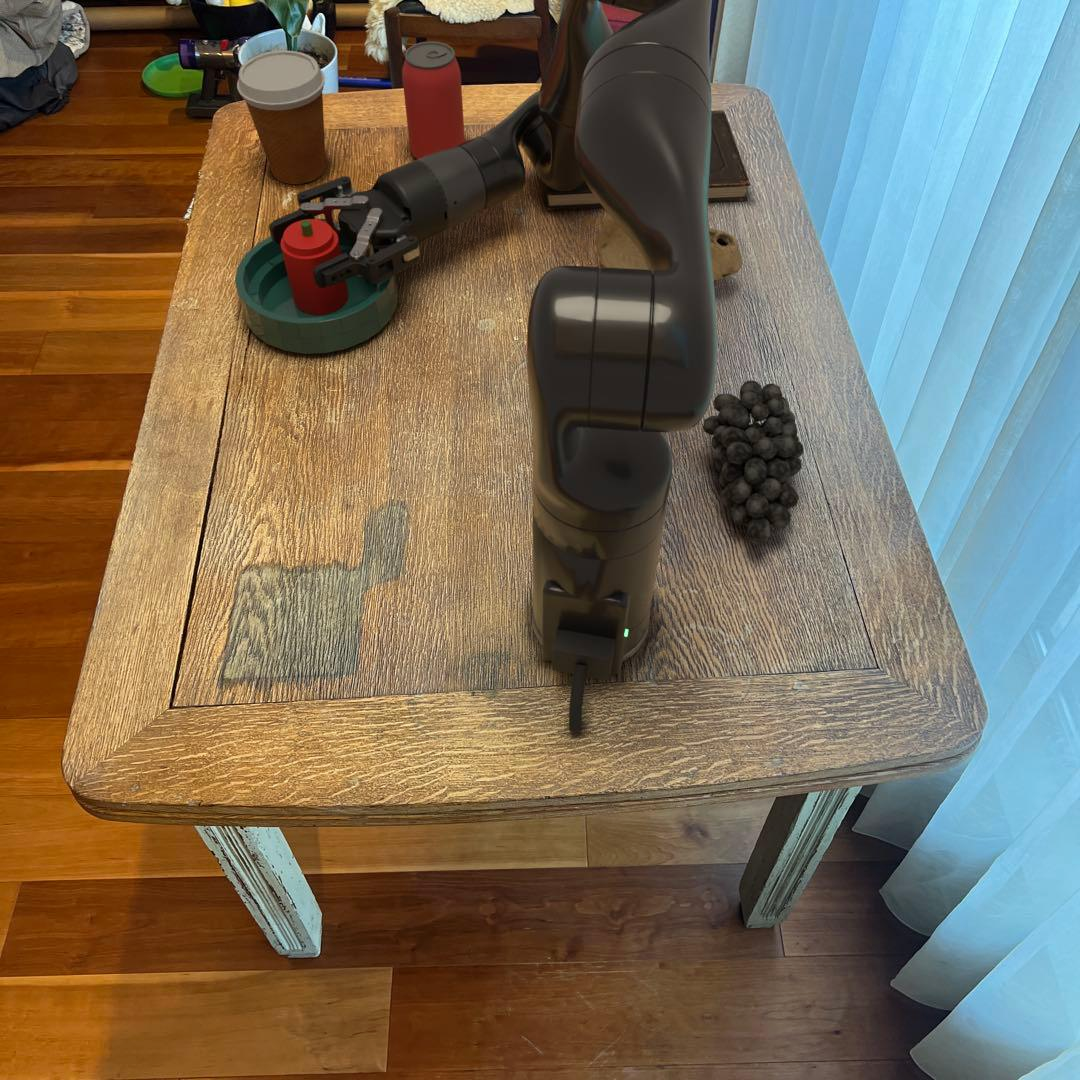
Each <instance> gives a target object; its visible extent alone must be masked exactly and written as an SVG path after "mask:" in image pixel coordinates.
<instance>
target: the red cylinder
mask: <svg viewBox="0 0 1080 1080" xmlns="http://www.w3.org/2000/svg"><path fill="white" fill-rule="evenodd" d="M316 219H317V218H315V219H306V220H301V221H298V222H295V223H293V224H291V225H290V226H289V227H287V229H286V230H285V231H284V234H283V237H282V239H281V249H282V253H283V257H284V262H285V266H286V270H287V274H288V278H289V283H290V287H291V291H292V295H293V299H294V303H295V305H296V307H297V308H298V309H299V310H301V311H302V312H304V313H307V314H311V315H325V314H330V313H333V312H335V311H337V310H339V309H340V308H342V307H343V306H344V305H345V304H346V302H347V300H348V296H349V294H348V288H347V283H346V280H344V281H341V282H340V283H337V284H335V285H333V286H329V287H325V288H319V287H318V286H317V285H316V284H315V280H314V276H313V268H314V267H315V266H317V265H319V264H321V263H324V262H326V261H328V260H330V259H332V258H335V257H337V256H339V255H341V250H340V245H339V239H338V235H337V233H336V232H335V231H334V230H333V229H332V228H331V226H330V225H329V224H327V223H326V222H324V221H321V220H316Z"/></svg>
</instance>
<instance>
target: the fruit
mask: <svg viewBox="0 0 1080 1080" xmlns="http://www.w3.org/2000/svg"><path fill="white" fill-rule="evenodd" d="M713 408H714V410H715V411H716V412H718V414H717V415H711V416H709V417H707V418H705V419H703V424H702V430H703V431H704V433H705V434H706V435H709V436H712V437H711V441H710V442H711V443H710V444H711V447H712V449H713V452H712V460H713V462H714V463H715V469H716V470H717V471H718V472H719V479H718V482H719V484H720V485H721V487H723V488H724V489H723V490H722V491H721V493H720V495H719V496H720V501H721V503H722V505H724V507H726V508H729V509H730V508H731V509H732V510H731V512H730V517H731V519H732V521H733V523H734V524H736V525H739V526H741V527H742V526H744V527H746V528H747V531H746V537H747V538H748V541H750V543H752V544H755V545H761V544H765V543H766V542H767V541H768V539H769V538H770V536H771V534H772V532H773V528H775V529H778V530H779V529H781V530H782V529H784V528H786V527H787V526H788V525H789V524H790V522H791V519H792V517H791V516H792V514H791V511H790V510H789V509H792V508H795V507H797V504H798V503H799V499H800V496H799V494H798V492H797V490H796V489H795V488H794V487H793V486H792V479H791V477H793V476H795V475H797V474H798V473H799V472H801V470H802V467H803V465H802V459H800V457H801V456H802V455H803V454H804V449H805V448H804V445H803V443H802V442H801V441H800V438H799V436H798V427H797V423H796V415H795V414H794V411H793V412H792V411H791V410H790V402H789V401H788V399H787V398H786V397H784V396H783V392H782V390H781V387H780V386H779V385H777V384H775V383H774V382H772V383H767V384H765V385H764V386H762V385H761V384H760V383H759V382H758V381H756V380H747V381H745V382H743V383H742V384H741V386H740V389H739V397H737V396H736V395H734V394H732V393H718V394H717V395H716V396H715V398H714V399H713ZM751 418H752V419H751ZM751 422H752V423H751ZM759 422H761V423H759ZM772 527H773V528H772Z"/></svg>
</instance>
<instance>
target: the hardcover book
mask: <svg viewBox="0 0 1080 1080" xmlns="http://www.w3.org/2000/svg"><path fill="white" fill-rule="evenodd" d="M542 186H543V194H544V200H545V207H546V211H562V210H563V211H564V210H565V211H566V210H585V209H604V208H603V206H602V205H601V204H600V202H599V201H598V200H597V199H596V197H595V196H594V195H593V193H592V192H591V190H590V188H589V187H588V185H587V183H586V182H585V183H584V184H583V185H581V186H580V187H578V188H576V189H573V190H570V191H557V190H554V189H552V188H550V187H548V186H547V185H546V184H545V183H544V182H543V181H542ZM747 187H751V181H750V178H749V176H748V174H747V171H746V168H745V166H744V162H743V159H742V157H741V154H740V152H739V148H738V146H737V142H736V140H735V137H734V135H733V131H732V129H731V126H730V123H729V121H728V118H727V115H726V111H725V110H724V109H719V110H711V152H710V170H709V191H708V204H710V203H725V202H726V203H727V202H731V203H732V202H746V201H748V196H747V192H748V189H747Z"/></svg>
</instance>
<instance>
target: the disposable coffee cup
mask: <svg viewBox="0 0 1080 1080" xmlns="http://www.w3.org/2000/svg"><path fill="white" fill-rule="evenodd" d="M238 70H239V71H238V79H237V83H236V89H237V91H238V93H239V95H240V96H241V97H242V99H243V100H244V102H245V103H246V106H247V109H248V112H249V114H250V117H251V119H252V122H253V125H254V127H255V130H256V133H257V135H258V138H259V140H260V143H261V146H262V149H263V151H264V154H265V157H266V160H267V162H268V165H269V167H270V170H271V173H272V176H273V178H275V179H276V180H278V181H279V182H282V183H285V184H289V185H301V184H306V183H310V182H313V181H316V180H317V179H319V178H321V176H322V175H323V174H324V173H325V172H326V169H327V162H326V161H327V160H326V141H325V121H324V100H323V99H324V97H323V91H324V86H325V82H326V76H325V73H324V71H323V70H322V69H321V68H320V66H319V64H318V62H317V61H316V59H314V58H313V57H312V56H311V55H309V54H306V53H304V52H301V51H294V50H274V51H268V52H265V53H260V54H258V55H255V56H253V57H251V58H250V59H247V60H246V61H245V62H244V63H243V64H242V65H241V66H240V69H238Z"/></svg>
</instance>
